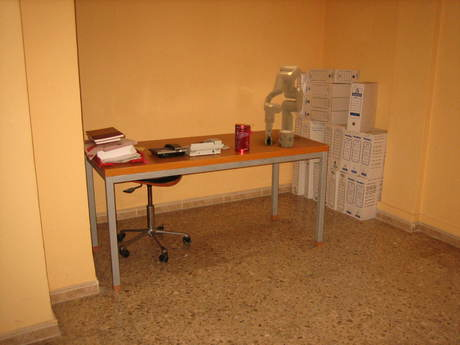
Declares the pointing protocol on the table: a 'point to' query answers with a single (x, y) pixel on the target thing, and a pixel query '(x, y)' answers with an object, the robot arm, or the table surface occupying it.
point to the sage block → (266, 141)
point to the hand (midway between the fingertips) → (268, 143)
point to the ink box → (286, 138)
